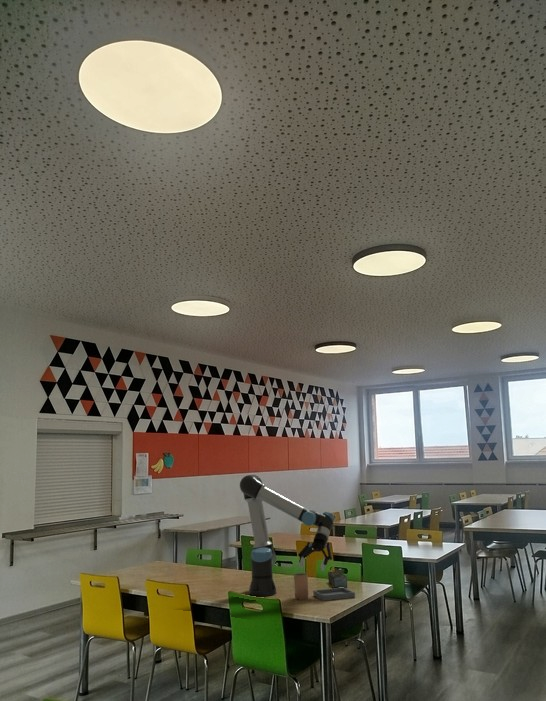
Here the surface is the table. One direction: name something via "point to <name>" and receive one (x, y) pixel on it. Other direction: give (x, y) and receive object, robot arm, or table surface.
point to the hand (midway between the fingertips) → (310, 569)
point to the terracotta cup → (301, 586)
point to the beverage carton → (337, 579)
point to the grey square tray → (333, 593)
